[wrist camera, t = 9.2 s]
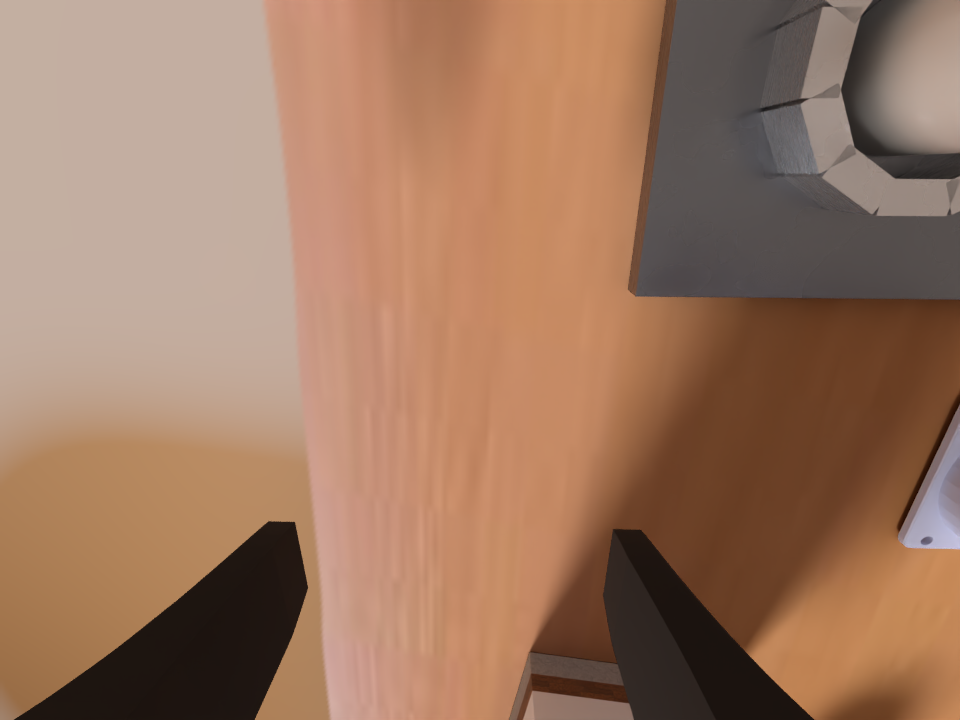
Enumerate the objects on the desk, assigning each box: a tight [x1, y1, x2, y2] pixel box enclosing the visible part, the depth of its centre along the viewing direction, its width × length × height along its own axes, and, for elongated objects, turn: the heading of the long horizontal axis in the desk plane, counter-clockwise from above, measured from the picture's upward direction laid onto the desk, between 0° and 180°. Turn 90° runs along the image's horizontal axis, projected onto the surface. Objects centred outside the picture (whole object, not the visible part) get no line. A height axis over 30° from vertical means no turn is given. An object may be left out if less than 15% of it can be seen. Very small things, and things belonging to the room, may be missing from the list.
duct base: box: [628, 0, 960, 300], centre depth 13 cm, size 14×14×3 cm
